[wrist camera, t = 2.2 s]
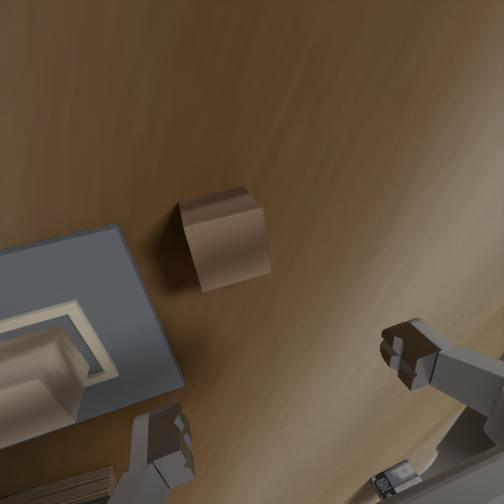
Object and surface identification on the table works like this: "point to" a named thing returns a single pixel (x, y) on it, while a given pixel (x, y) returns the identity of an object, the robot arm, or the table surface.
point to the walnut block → (226, 237)
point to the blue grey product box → (395, 480)
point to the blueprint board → (91, 314)
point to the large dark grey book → (71, 490)
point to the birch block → (39, 384)
